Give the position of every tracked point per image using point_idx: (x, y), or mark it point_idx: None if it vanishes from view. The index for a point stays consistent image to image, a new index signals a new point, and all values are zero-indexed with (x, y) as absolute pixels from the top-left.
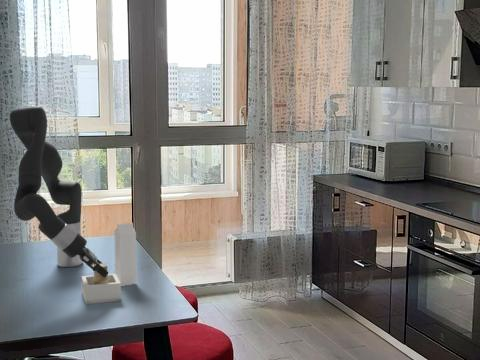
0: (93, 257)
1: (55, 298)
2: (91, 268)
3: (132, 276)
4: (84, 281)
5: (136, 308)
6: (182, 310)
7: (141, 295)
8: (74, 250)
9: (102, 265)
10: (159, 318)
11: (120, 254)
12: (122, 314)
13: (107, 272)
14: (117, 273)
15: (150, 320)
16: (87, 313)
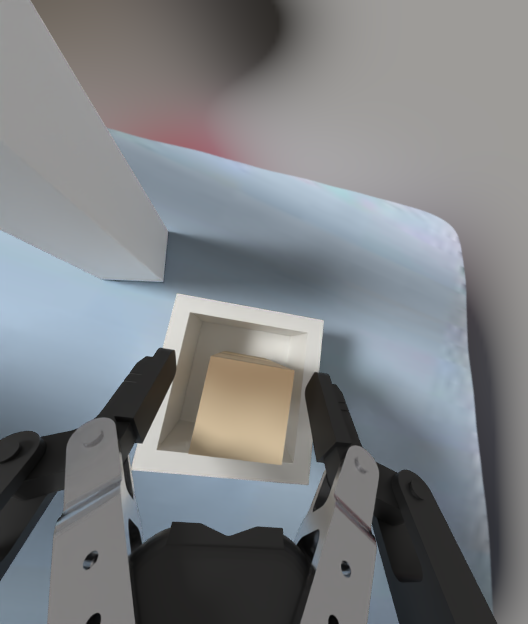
0: (366, 592)
1: None
2: (406, 544)
3: (155, 224)
4: (231, 472)
5: (372, 311)
6: (417, 224)
7: (279, 260)
8: None
9: (255, 396)
10: (449, 289)
11: (64, 190)
12: (402, 359)
13: (327, 379)
14: (106, 264)
15: (455, 311)
16: None
